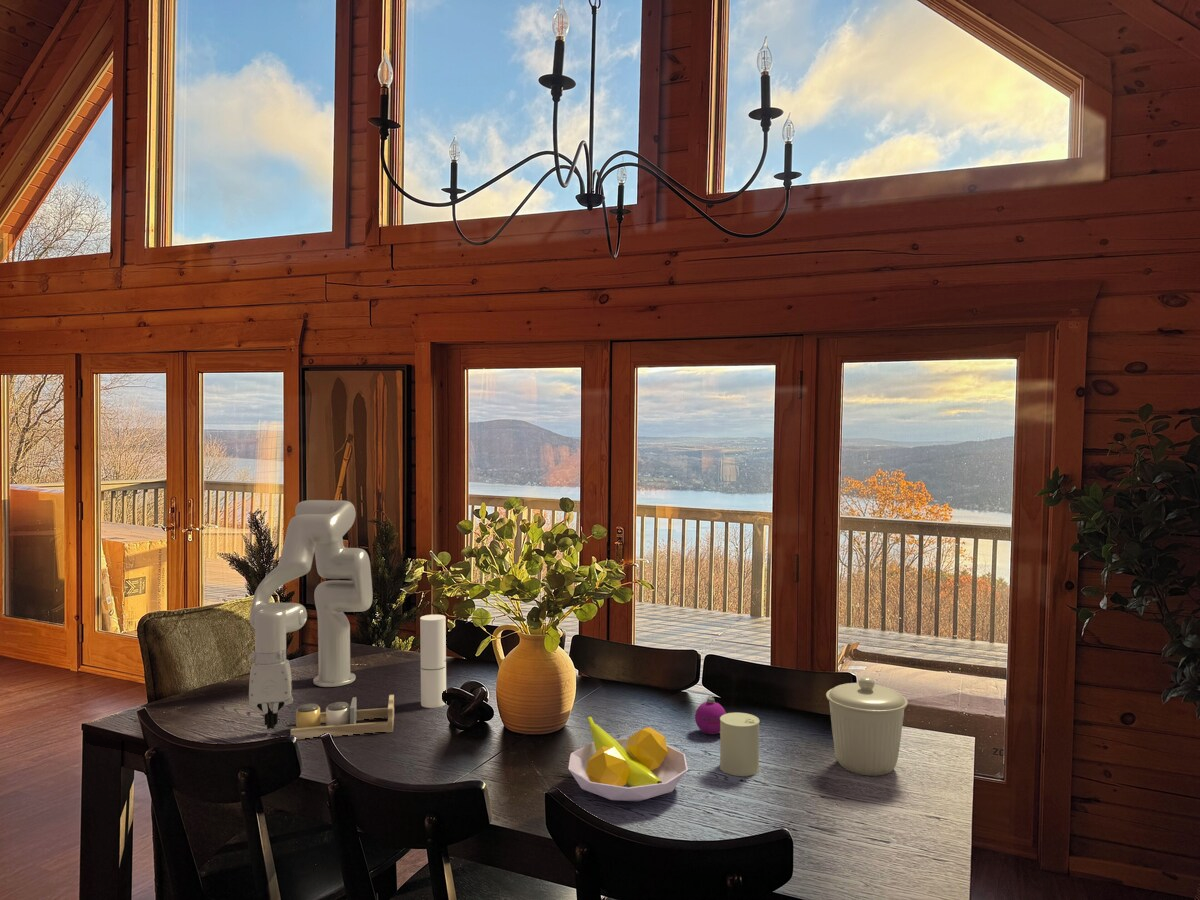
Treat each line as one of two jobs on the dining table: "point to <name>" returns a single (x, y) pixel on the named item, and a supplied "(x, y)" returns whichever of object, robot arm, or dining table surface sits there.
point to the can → (739, 744)
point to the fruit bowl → (627, 765)
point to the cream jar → (338, 714)
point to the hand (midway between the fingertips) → (271, 727)
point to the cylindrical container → (433, 660)
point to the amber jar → (308, 716)
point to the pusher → (353, 711)
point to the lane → (352, 728)
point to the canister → (866, 726)
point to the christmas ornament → (709, 716)
